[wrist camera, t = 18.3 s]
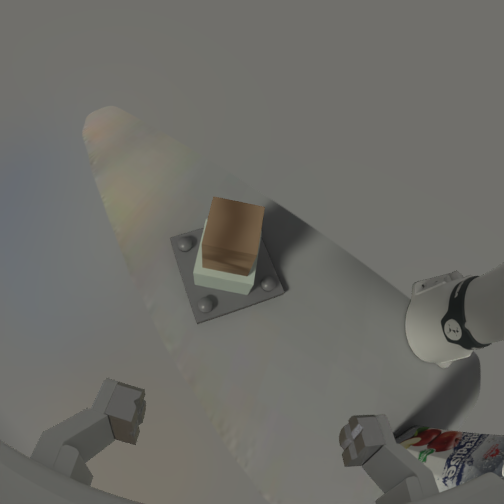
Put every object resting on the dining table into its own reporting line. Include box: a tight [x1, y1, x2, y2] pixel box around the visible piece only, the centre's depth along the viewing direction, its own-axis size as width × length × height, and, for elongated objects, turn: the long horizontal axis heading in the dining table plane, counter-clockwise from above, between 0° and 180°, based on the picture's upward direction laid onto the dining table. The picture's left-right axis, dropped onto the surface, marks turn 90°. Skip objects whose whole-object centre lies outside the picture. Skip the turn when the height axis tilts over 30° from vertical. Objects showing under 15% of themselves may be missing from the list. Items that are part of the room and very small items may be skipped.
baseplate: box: [170, 219, 285, 324], centre depth 43 cm, size 14×14×8 cm
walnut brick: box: [202, 197, 265, 276], centre depth 36 cm, size 6×6×8 cm
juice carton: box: [395, 426, 504, 493], centre depth 26 cm, size 9×10×27 cm
